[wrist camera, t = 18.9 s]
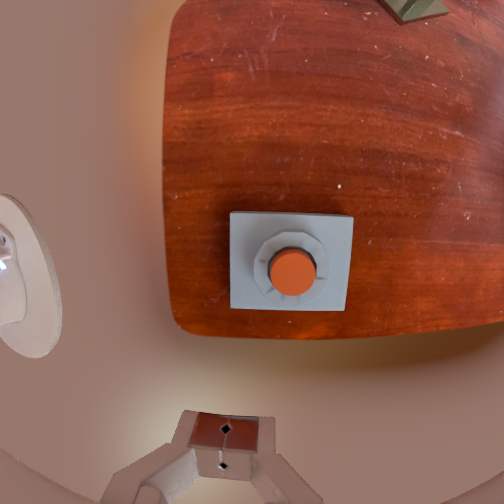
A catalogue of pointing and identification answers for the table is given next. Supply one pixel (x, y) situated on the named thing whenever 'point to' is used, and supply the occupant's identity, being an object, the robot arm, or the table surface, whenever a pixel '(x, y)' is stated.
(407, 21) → the switch bracket
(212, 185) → the table surface
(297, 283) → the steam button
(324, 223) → the grey mounting base
